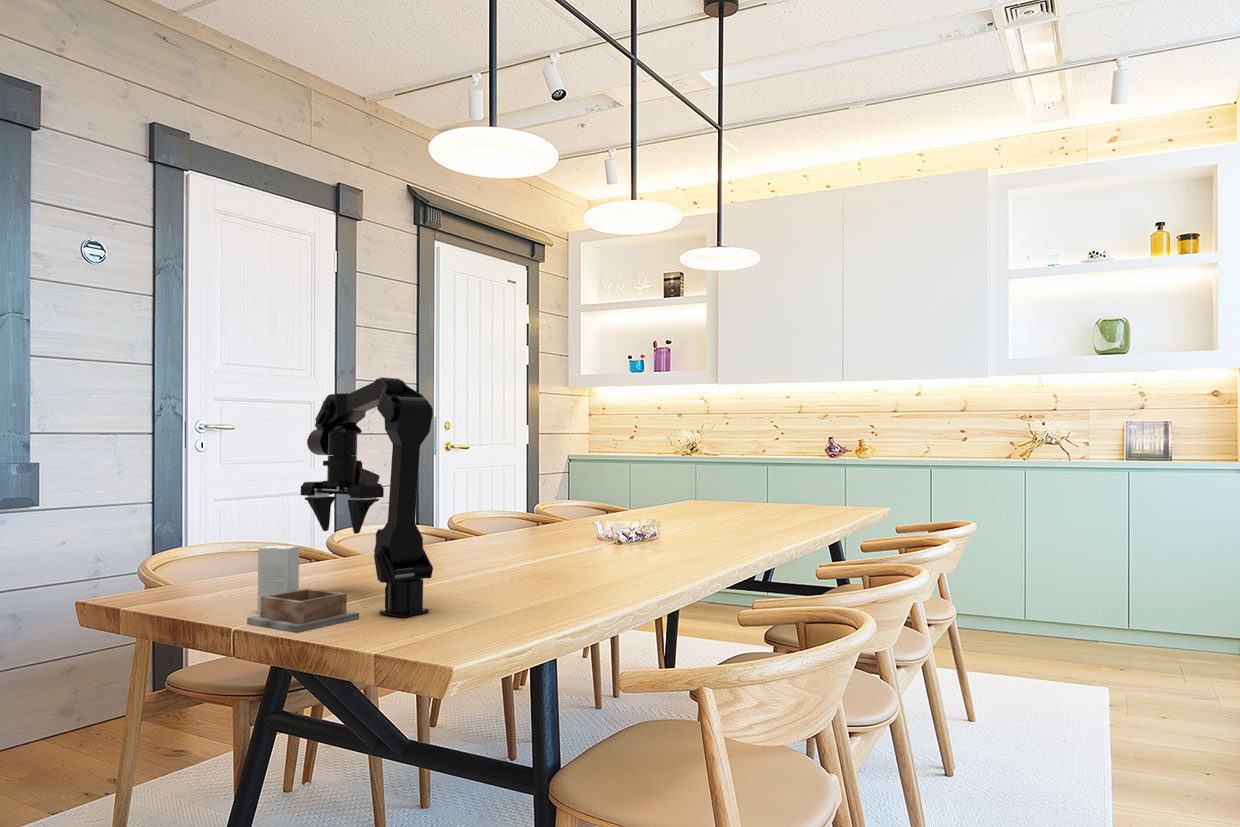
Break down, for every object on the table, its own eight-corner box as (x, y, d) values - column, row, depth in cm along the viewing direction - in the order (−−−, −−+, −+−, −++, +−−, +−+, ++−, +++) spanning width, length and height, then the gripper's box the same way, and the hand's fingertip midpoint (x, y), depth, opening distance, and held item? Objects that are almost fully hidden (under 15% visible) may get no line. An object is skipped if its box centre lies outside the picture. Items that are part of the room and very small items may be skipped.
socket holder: (358, 618, 148) (359, 593, 148) (297, 632, 136) (297, 604, 137) (309, 611, 154) (310, 586, 154) (247, 623, 143) (247, 597, 143)
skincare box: (299, 610, 155) (300, 545, 156) (287, 614, 151) (289, 548, 152) (268, 609, 156) (269, 544, 156) (256, 613, 152) (257, 547, 152)
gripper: (404, 456, 173) (403, 531, 172) (342, 455, 182) (341, 526, 182) (362, 456, 163) (361, 536, 163) (299, 455, 173) (298, 530, 172)
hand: (341, 532), depth 170 cm, fingers open, 9 cm apart
